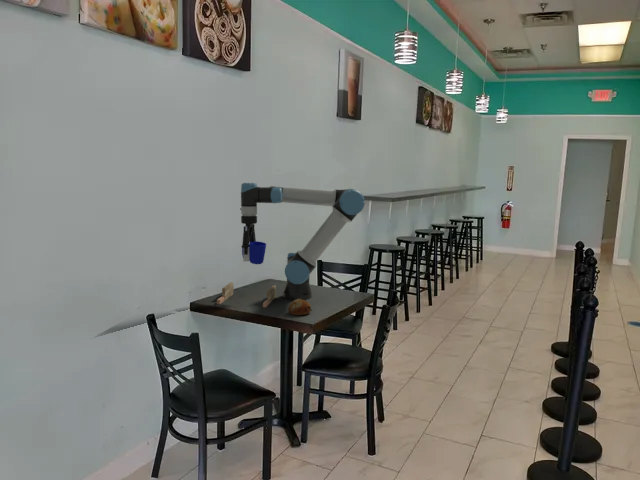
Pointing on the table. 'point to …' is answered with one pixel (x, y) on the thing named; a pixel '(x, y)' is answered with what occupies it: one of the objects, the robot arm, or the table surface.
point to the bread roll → (299, 307)
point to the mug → (256, 252)
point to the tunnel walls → (228, 291)
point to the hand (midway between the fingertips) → (249, 259)
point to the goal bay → (223, 300)
